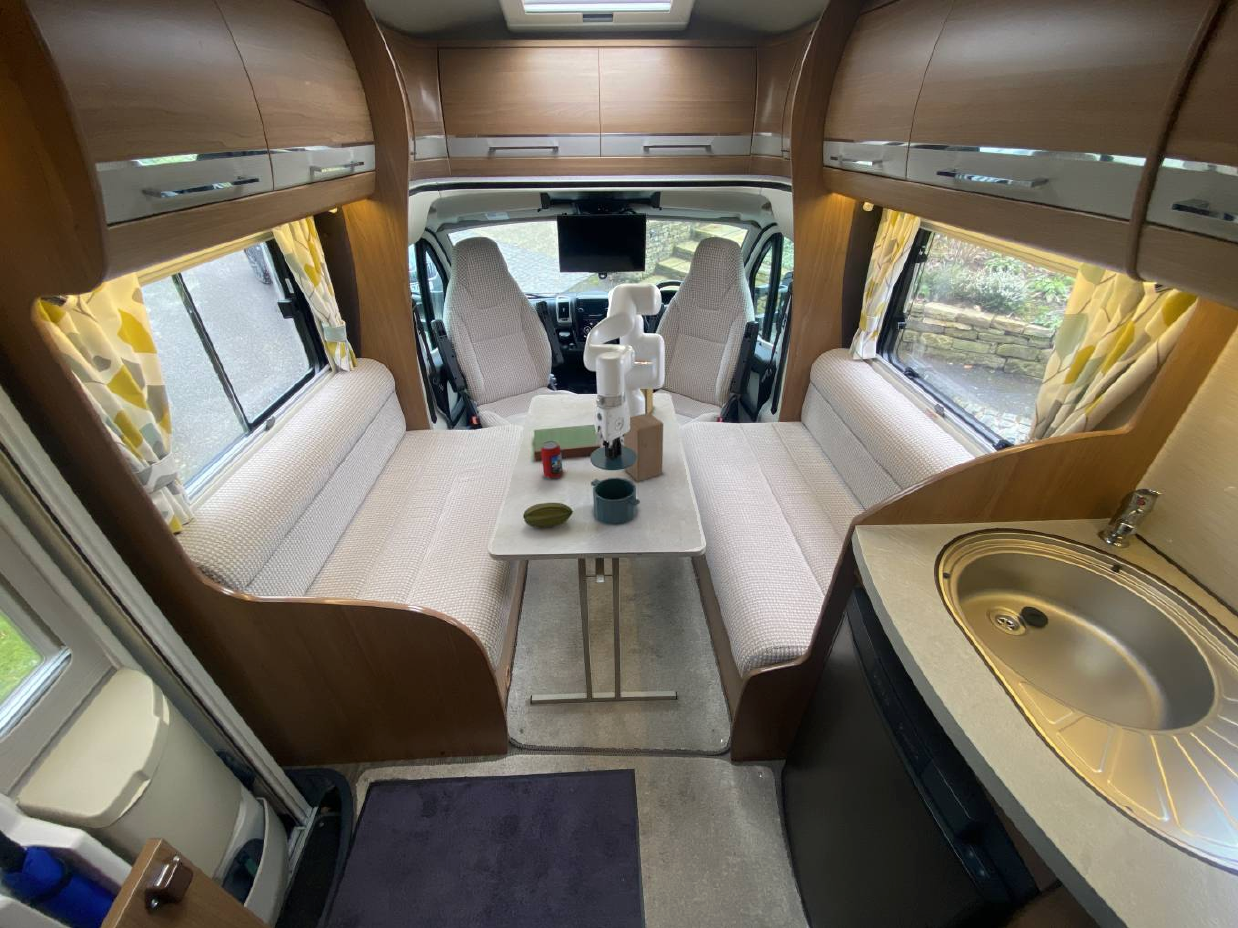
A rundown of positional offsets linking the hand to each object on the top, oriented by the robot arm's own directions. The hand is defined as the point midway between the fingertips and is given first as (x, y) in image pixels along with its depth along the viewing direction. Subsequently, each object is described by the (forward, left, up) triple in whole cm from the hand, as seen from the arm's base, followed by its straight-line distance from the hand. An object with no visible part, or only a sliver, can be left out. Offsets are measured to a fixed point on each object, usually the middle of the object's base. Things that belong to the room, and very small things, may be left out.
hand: (613, 455), depth 146 cm
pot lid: (0, 0, -1) cm, 1 cm away
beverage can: (-2, -32, -20) cm, 37 cm away
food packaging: (-62, -43, -20) cm, 78 cm away
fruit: (+18, -11, -20) cm, 29 cm away
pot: (0, 0, -20) cm, 20 cm away
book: (-19, -44, -20) cm, 52 cm away
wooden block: (-24, -9, -20) cm, 32 cm away
